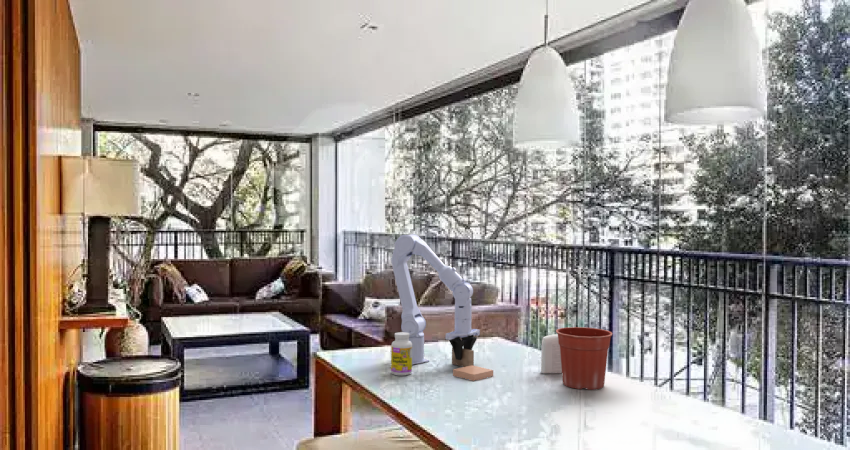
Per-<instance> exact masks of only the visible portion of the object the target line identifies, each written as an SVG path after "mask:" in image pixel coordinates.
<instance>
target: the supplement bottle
mask: <svg viewBox="0 0 850 450" xmlns="http://www.w3.org/2000/svg"><path fill="white" fill-rule="evenodd" d="M394 339H395V340H394V341H392V342H391V346H390V349H391V350H390V373H391V374H392V375H394V376H400V377H404V376H409V375H411V374H412V371H413V364H412V343H411V342H410V341H409V333H406V332H402V331H400V332H395V333H394Z"/></svg>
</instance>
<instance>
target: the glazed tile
mask: <svg viewBox="0 0 850 450" xmlns="http://www.w3.org/2000/svg"><path fill="white" fill-rule="evenodd" d="M452 376H453V377H458V378H461V379H464V378H465V380H468V379H469V381H473V382H474V381H475V380H476V381H480V380H484V379H488V378H492V377H494V369H489V368H486V367H482V366H477V365H474V366H473V365H471V366H467V367H463V366H461V367H458V368H454V369H452ZM491 376H492V377H491ZM487 377H488V378H487ZM483 378H484V379H483ZM476 381H475V382H476Z"/></svg>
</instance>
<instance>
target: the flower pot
mask: <svg viewBox="0 0 850 450" xmlns="http://www.w3.org/2000/svg"><path fill="white" fill-rule="evenodd" d="M555 334H558V342H559V345H560V354H561V366H562V373H561V377H562V380H561V381H562V384H563V385H564V386H566V387H567V388H570V389H577V390H582V389H586V390H589V391H592V390H601V389H602V388H605V381H606V371H607V364H608V363H607V362H608V353H609V348H610V345H611V337H612V336H613V332H612V331H609V330H606V329H602V328H594V327H582V326H579V327H578V326H574V327H573V326H570V327H560V328H557V329H556V330H555Z"/></svg>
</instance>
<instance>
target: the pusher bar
mask: <svg viewBox="0 0 850 450" xmlns="http://www.w3.org/2000/svg"><path fill="white" fill-rule="evenodd" d="M474 357H475V351H474V350H473V349H472V350H469V349H465V348H463V349H462V359H461V360H457V359H456V358H455V354H454V350H453V347H451V364H452V365H456V366H459V367H467V366H471V365H473V366H475V364H474V363H475V358H474Z"/></svg>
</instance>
